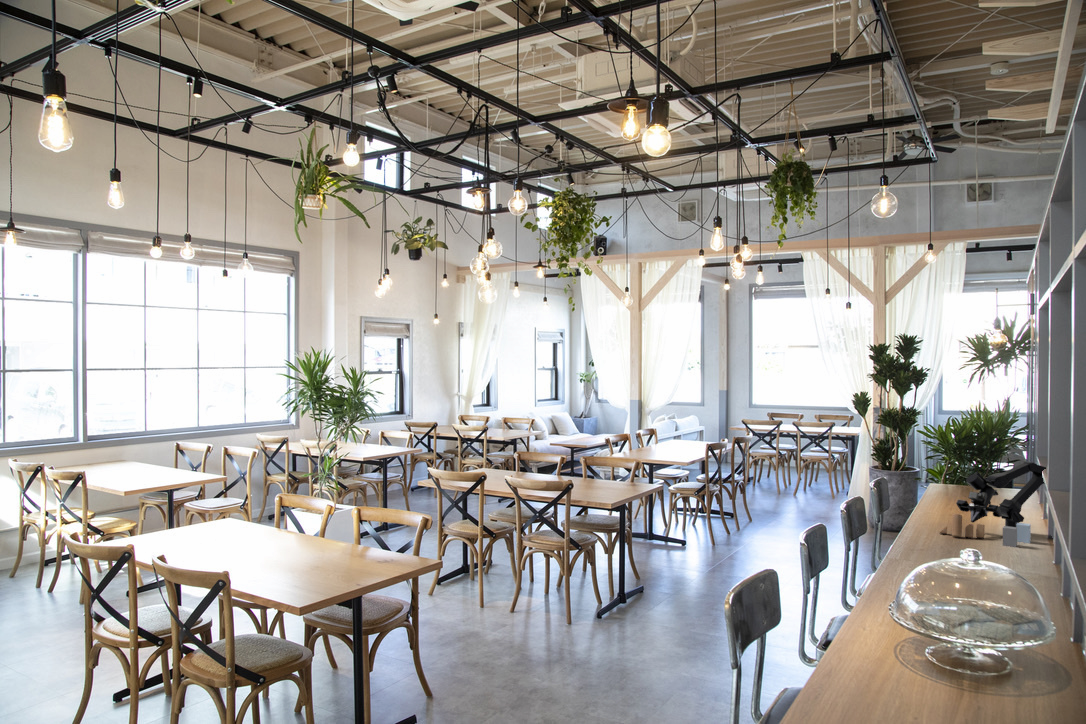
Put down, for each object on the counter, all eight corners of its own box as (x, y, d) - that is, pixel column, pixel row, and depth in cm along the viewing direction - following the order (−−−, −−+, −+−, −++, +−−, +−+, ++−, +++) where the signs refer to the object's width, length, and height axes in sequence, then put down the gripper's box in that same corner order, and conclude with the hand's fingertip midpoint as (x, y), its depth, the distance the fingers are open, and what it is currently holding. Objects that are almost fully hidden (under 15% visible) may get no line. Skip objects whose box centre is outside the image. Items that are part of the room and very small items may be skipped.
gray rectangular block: (1003, 543, 325) (1003, 525, 325) (1017, 545, 322) (1017, 527, 322) (1002, 545, 321) (1002, 527, 321) (1016, 547, 318) (1016, 529, 318)
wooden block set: (983, 543, 335) (983, 521, 339) (985, 539, 328) (985, 517, 332) (939, 537, 344) (940, 516, 347) (940, 533, 337) (940, 511, 340)
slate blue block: (1017, 539, 332) (1017, 522, 332) (1030, 541, 329) (1030, 524, 329) (1016, 541, 328) (1016, 524, 329) (1029, 543, 325) (1029, 525, 325)
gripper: (958, 482, 350) (945, 507, 344) (998, 488, 334) (986, 514, 328) (967, 497, 354) (954, 522, 348) (1007, 503, 338) (995, 529, 332)
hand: (971, 521), depth 339 cm, fingers closed
